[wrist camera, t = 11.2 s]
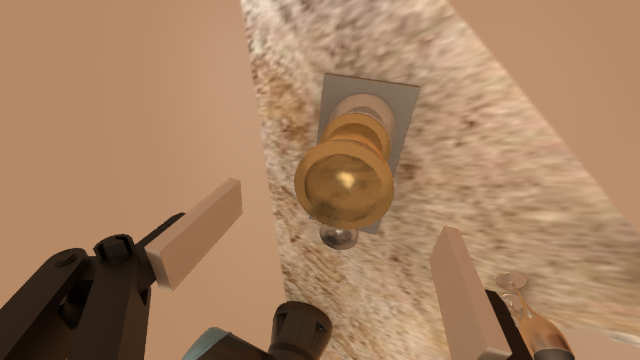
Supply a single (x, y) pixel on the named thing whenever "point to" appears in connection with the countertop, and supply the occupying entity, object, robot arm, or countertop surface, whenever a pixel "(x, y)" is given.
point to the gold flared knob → (347, 174)
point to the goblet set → (534, 323)
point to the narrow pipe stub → (338, 237)
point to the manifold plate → (392, 93)
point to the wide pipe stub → (368, 111)
